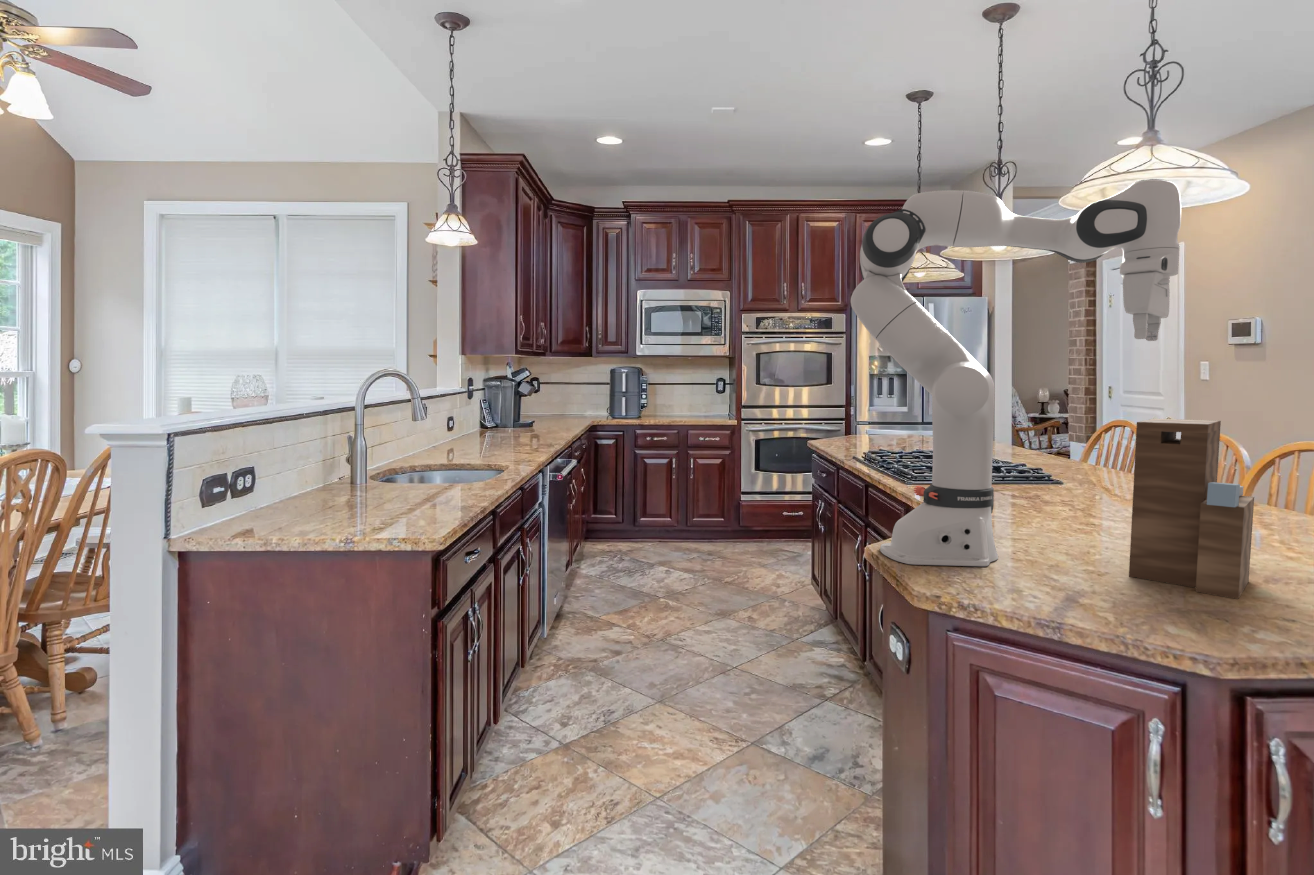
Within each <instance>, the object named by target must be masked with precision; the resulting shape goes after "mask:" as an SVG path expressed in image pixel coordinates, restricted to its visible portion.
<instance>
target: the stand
mask: <svg viewBox="0 0 1314 875" xmlns="http://www.w3.org/2000/svg"><path fill="white" fill-rule="evenodd" d="M1221 421H1222V420H1213V419H1178V418H1176V419H1175V418H1151V419H1146V420H1140V421H1136V430H1135V450H1134V451H1135V452H1134V471H1133V488H1132V489H1133V490H1132V506H1131V507H1132V509H1131V511H1132V512H1131V525H1130V526H1131V529H1130V547H1129V548H1130V549H1129V564H1128V566H1129V567H1128V577H1130V578H1135V577H1137V579H1141V580H1147V579H1149V581H1154V582H1159V581H1160V583H1165V582H1167V583H1166V584H1172V585H1177V584H1178V586H1184V587H1190V588H1195V592H1196V593H1202V594H1207V595H1213V596H1219V597H1226V598H1231V599H1237V600H1238V599H1239V598H1240V597H1241V595H1242V593H1243V592H1244V590H1245V588H1246V587H1247V585H1248V583H1249V581H1250V567H1251V550H1252V540H1253V539H1252V537H1253V536H1252V535H1253V533H1252V532H1253V520H1254V506H1255V496H1250V495H1249V496H1247V495H1242V496H1239V505H1238V506H1237V507H1226V506H1216V505H1207V493H1208V483H1211V482H1217V483H1218V472H1219V471H1218V470H1219V456H1220V454H1219V452H1220V442H1221V440H1220V438H1221V426H1222V425H1221ZM1177 433H1180V438H1177Z"/></svg>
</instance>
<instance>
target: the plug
mask: <svg viewBox="0 0 1314 875" xmlns="http://www.w3.org/2000/svg"><path fill="white" fill-rule="evenodd" d="M1244 488H1245V487H1244V485H1242V486H1241V483H1240V484H1239V483H1230V482H1229V483H1228V482H1218V481H1217V482H1211V483H1208V493H1207V505H1216V506H1226V507H1237V506H1238V505H1239V496H1244Z"/></svg>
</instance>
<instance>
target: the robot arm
mask: <svg viewBox="0 0 1314 875" xmlns="http://www.w3.org/2000/svg"><path fill="white" fill-rule="evenodd" d="M1181 199H1182V198H1181V192H1180V189H1179V187H1178V185H1177V184H1176V183H1174V182H1173V181H1170V180H1168V179H1163V178H1147V179H1141V180H1140V179H1139V180H1136V181H1134V182H1133V183H1132V184H1130V185H1129V186H1128V187H1127V188H1125V189H1124V190H1121V191H1119V192H1118V193H1116V194H1114V195H1112V196H1109V197H1107V198H1104V199H1099V200H1098V201H1094V202H1092V203H1090V204H1088V205H1087V206H1086V207H1083V209H1081V210H1080V211H1079V212H1078V213H1077V214H1076V215H1072V216H1070V217H1069V216H1068V217H1067V218H1060V219H1056V218H1045V217H1043V218H1042V217H1036V216H1033V217H1032V216H1027V215H1026V216H1023V215H1020V214H1016V213H1013V212H1011V211H1010V210H1009V209H1008V208H1007V206H1005V204H1004V202H1003V200H1001V199H1000V198H999V197H998V196H996V195H994V194H990V193H987V192H981V191H973V190H960V189H959V190H955V189H953V190H952V189H950V190H948V189H947V190H945V189H944V190H943V189H942V190H932V191H923V192H917V193H914V194H912V195H911V196H910V197H908V198H907V199H906V201H905V202H904V204H903V206H902V208H901V209H897V210H896V211H894V212H891V213H886V214H884V215H881V216H879V217H877V218H876V219H874V220H873V221H872V222H871V223H870V224H869V225H868V226H867V228H866V230H865V232H864V234H863V236H862V241H861V242H862V243H861V246H860V249H859V250H860V251H859V269H860V275H861V278H862V281H860V282H859V284H857V286H855V288H854V289H853V291H852V294H851V296H850V306H851V308H852V310H853V312H854V313H855V315H856V316H857V318H858V320H859V321H860V322H861V324H862V325H863V326H864V328H865V329H866V330H867V331H868V333H869V334H870V335H871V336H872V337H873V338H874V340H876V342H877V343H879V345H880V346H881V347H882V348H883V349H884V350H885V352H887V353H888V354H889V355H890V356H891V357H892V358H893V359H894V361H895V362H896V363H898V364H899V365H900V367H901V368H902V369H903V370H905V371H906V372H907V373H908V375H910V376H911V377H912V378H913V379H914V380H915V381H916V382H917V383H919V384H920V385H921V387H923V389H925V391H927V392H928V393H929V394H930V395H931V396H932V398H931V400H932V401H931V402H932V403H931V410H932V411H931V412H932V413H931V415H932V421H931V422H932V423H931V424H932V475H931V478H932V479H931V484H930V485H929V486H928V487H925V486H921V485H916V486H915V487H914V488H913V493H914V494H915V495H916V496H919V497H923V498H922V499H923V500H922V501H923V502H921V503H920V504H919V505H917V506H916V507H914V509H912V510H911V511H910V512H908V513H907V514H905V515H904V516H902V517H901V518H899V519H898V520H897V521H896V522H895V524H894V526H893V530H892V535H891V542H885V543H881V544H880V547H879V551H880V552H881V553H882V555H884V556H886V557H888V558H889V559H891V560H892V561H895V562H899V563H904V564H906V565H919V566H921V565H922V566H924V565H925V566H957V567H958V566H959V567H961V566H963V567H988V566H989V565H990V563H992V562H994V561H997V560H998V559H999V555H998V550H997V548H996V547H997V546H996V542H995V536H994V530H993V517H992V516H993V515H992V514H993V511H994V503H995V501H994V500H995V496H994V495H995V488H994V487H993V486H992V482H993V481H992V480H993V478H992V477H993V452H994V451H993V450H994V423H995V422H994V417H995V415H994V414H995V392H996V388H995V383H994V379H993V378H992V375H991V374H990V373H989V371H987V370H986V368H985V367H983V366H982V364H981V363H980V362H978V361H977V359H975V358H974V356H973V355H972V354H970V352H969V351H968V350H966V348H965V347H964V346H963V345H962V344H961V343H960V342H958V340H957V339H956V338H954V336H953V335H952V334H950V332H949V331H948V330H947V329H946V328H945V327H944V326H943V325H942V324H941V323H940V322H939V321H938V320H937V319H936V318H935V317H934V316H933V315H932V314H931V313H930V312H929V311H928V310H927V309H926V308H925V307H924V306H923V305H922V304H921V303H920V302H919V301H918V300H917V299H916V298H915V297H914V296H912V294H911V293H909V292H908V291H907V288H906V287H905V285H904V283H903V282H904V280H906V278H907V276H908V275H909V272H910V270H911V267H912V265H913V264H914V261H915V259H916V254H917V251H919V250H920V249H923V248H926V247H930V246H931V247H933V246H941V247H950V248H951V247H953V248H984V247H985V248H986V247H1012V248H1021V249H1032V250H1039V251H1040V250H1041V251H1048V252H1050V253H1051V252H1052V253H1054V254H1057V255H1059V256H1060V257H1062V258H1065V259H1067V260H1068V261H1071V262H1074V263H1080V264H1081V263H1082V264H1083V263H1090V262H1093V261H1096V260H1098V259H1100V258H1101V257H1103V256H1104V255H1106V254H1107V253H1108V252H1110V251H1112V250H1114V249H1115V250H1116V249H1120V250H1122V262H1121V263H1120V264H1119V274H1120V275H1121V278H1122V297H1123V298H1122V300H1123V301H1122V302H1123V307H1124V311H1125V313H1126V314H1130V315H1132V322H1133V323H1132V324H1133V329H1134V339H1135V340H1145V341H1147V342H1157V341H1158V340H1159V331H1160V328H1161V324H1162V319H1167V318H1168V317H1169V314H1170V293H1171V292H1170V278H1171V277H1173V276H1176V275H1178V274H1179V265H1180V263H1179V261H1180V244H1179V241H1178V234H1179V231H1180V229H1181V226H1182V203H1181V202H1182V201H1181Z"/></svg>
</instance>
